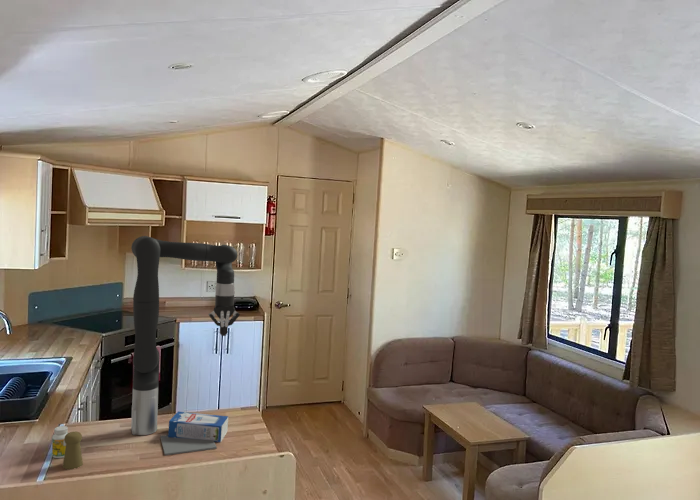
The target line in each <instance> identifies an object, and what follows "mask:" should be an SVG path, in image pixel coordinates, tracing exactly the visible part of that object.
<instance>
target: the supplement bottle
mask: <svg viewBox="0 0 700 500" xmlns="http://www.w3.org/2000/svg"><path fill="white" fill-rule="evenodd" d="M68 431H69V428H68V426H67V425H60V426H57V427H55V428H54V431H53V432H54V434H53V435H52V437H51V440H52V441H51V445H52V446H51V456H52V457H53V458H55V459H64V455H65V449H66V443H65V436H66V434H68V433H69V432H68Z"/></svg>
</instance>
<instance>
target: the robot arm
mask: <svg viewBox="0 0 700 500" xmlns="http://www.w3.org/2000/svg"><path fill="white" fill-rule="evenodd" d="M237 251H238V250H237V249H236V248H235V247H234V246H231V245H228V244H221V245H212V244H210V243H202V242H201V243H200V242H182V241H181V242H178V241H168V240H161V239H157V238H154V237H151V236H147V235H142V236H139V237H137V238H135V239H134V240H133V242H132V244H131V253H132V255H134V257H135V258H136V266H137V267H136V269H137V276H136V282H135V286H134V291H133V298H132V299H133V301H132V302H133V303H132V304H133V305H132V307H133V308H132V309H133V325H134V334H135V335H134V336H135V337H134V350H133V357H132V364H133V378H132V401H131V403H132V405H131V422H130V423H131V424H130V425H131V435H137V436H146V435H147V436H148V435H151V434H154V433H156V431H158V415H159V413H158V410H159V407H158V406H159V405H158V404H159V380H160V351H159V349H158V348H157V329H158V323H159V317H160V316H159V315H160V314H159V313H160V286H159V283H160V282H159V268H160V267H159V266H160V259H161V258H170V259H179V260H186V261H193V262H215V267H216V286H215V294H214V295H215V300H214V307H213V311H211V312H209V313H208V316H209V317H210V319H211V320H212V321H213V322H214V324H215V325H216V326H217V327H219V333H220V335H221V337H226V336H227V335H228V329H229V328H228V327H230V326H232V325H233V324H234V323H235V322H236V321H237V320H238V318H239V316H240V315H241V314H240V312H238V311H236V308H235V270H234V269H233V265H232V264H233V262H235V261H236V260H237V259H238V252H237ZM216 316H217V318H218V320H217V319H216Z"/></svg>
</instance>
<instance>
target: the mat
mask: <svg viewBox="0 0 700 500" xmlns="http://www.w3.org/2000/svg"><path fill="white" fill-rule="evenodd" d="M159 439H160V441H161V445H162V449H163V450H162V451H163V453H164V456H171V455H178V454H188V453H193V452H200V451H208V450H216V449H218V447H217V445H216V442H214V440H203V439H188V438H173V437H168V434H164V435H160V436H159Z"/></svg>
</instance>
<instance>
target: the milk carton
mask: <svg viewBox="0 0 700 500" xmlns="http://www.w3.org/2000/svg"><path fill="white" fill-rule="evenodd" d="M228 425H229V416H228V415H217V414H207V413H197V412H189V411H188V412H186V411H180V410H179V411H177V412H176V413H175V414H174V415H173V416H172V417H171V418H170V419H169V420H168V431H167V432H168V434H167V435H168V437H173V438H188V439H203V440H214V442H215V443H222V441H223V440H224V438H225V436H226V434H227V433H228Z"/></svg>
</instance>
